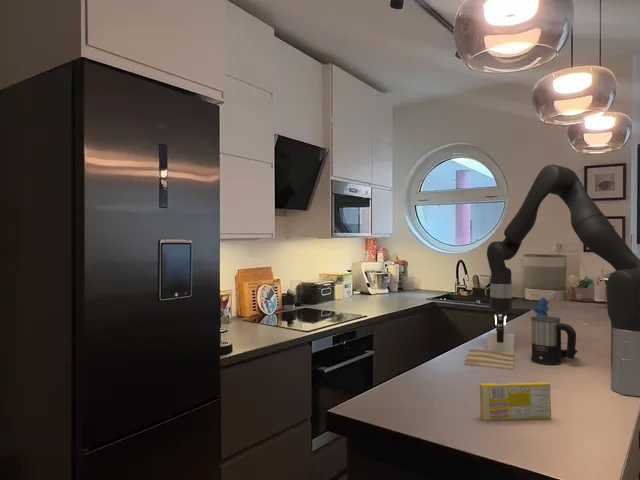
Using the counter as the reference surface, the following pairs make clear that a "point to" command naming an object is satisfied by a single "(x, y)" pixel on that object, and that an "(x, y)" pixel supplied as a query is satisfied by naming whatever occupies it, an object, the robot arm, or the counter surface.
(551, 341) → the milk frother
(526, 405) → the candy box
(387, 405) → the counter surface
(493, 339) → the card box
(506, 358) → the mat
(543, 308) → the grapes
